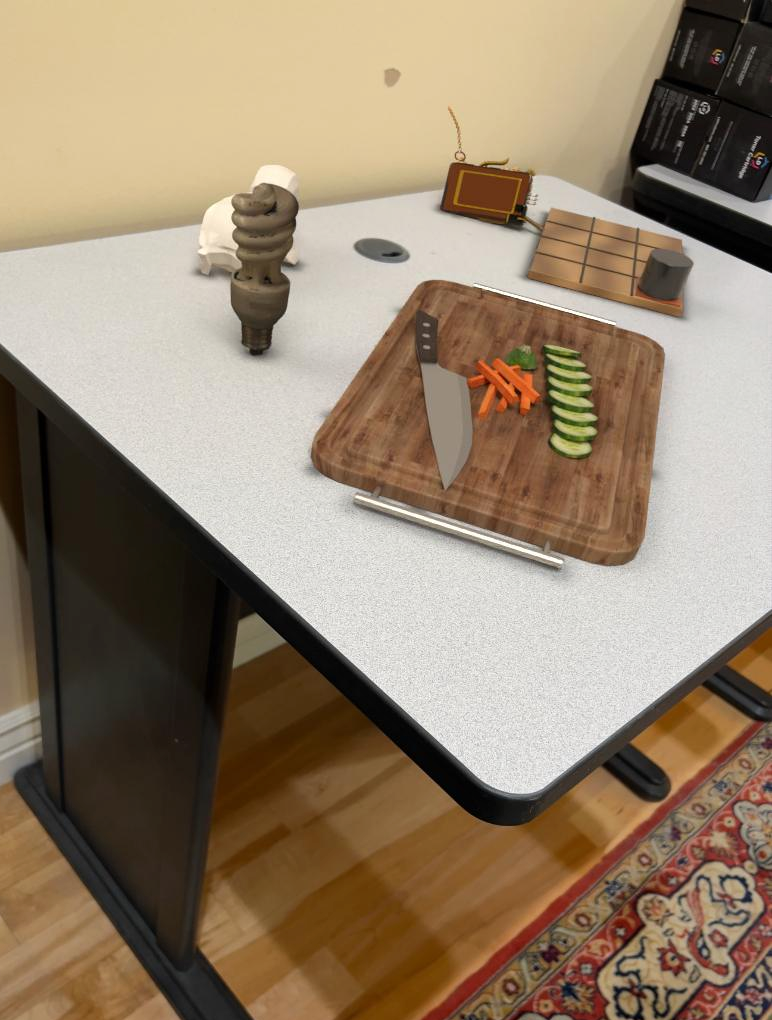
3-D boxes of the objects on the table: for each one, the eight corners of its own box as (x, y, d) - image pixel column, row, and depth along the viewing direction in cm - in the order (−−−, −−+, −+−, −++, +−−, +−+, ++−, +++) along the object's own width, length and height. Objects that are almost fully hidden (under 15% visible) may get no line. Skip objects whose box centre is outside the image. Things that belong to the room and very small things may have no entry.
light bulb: (234, 369, 80) (247, 197, 69) (213, 340, 83) (222, 172, 73) (291, 363, 82) (312, 196, 72) (268, 335, 85) (285, 171, 75)
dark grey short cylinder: (679, 289, 105) (694, 255, 103) (678, 305, 102) (693, 271, 99) (638, 278, 106) (651, 244, 103) (635, 293, 102) (649, 259, 100)
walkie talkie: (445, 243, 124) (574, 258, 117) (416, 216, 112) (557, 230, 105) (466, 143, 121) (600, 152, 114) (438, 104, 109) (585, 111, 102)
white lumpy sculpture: (265, 315, 95) (321, 224, 101) (259, 252, 87) (320, 157, 93) (193, 292, 96) (254, 204, 102) (182, 228, 89) (247, 137, 95)
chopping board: (632, 597, 64) (649, 565, 62) (287, 486, 68) (291, 452, 66) (662, 343, 96) (674, 316, 94) (427, 278, 100) (433, 251, 98)
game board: (679, 246, 120) (682, 238, 119) (679, 317, 102) (684, 307, 101) (548, 214, 122) (551, 205, 121) (527, 278, 104) (530, 268, 104)
